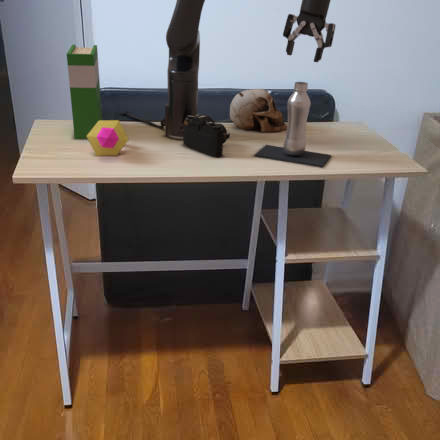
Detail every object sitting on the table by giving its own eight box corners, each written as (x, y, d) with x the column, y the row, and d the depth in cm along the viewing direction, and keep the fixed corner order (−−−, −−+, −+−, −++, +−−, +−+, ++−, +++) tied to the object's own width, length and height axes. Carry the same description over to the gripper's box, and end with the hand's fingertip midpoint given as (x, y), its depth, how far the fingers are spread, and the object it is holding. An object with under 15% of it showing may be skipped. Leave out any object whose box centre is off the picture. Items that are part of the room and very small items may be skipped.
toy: (131, 147, 167) (114, 114, 164) (133, 147, 150) (115, 110, 147) (100, 162, 167) (83, 129, 163) (100, 164, 150) (81, 127, 146)
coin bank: (291, 127, 189) (292, 87, 182) (257, 142, 180) (256, 99, 172) (258, 119, 199) (257, 80, 191) (223, 132, 190) (221, 92, 182)
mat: (254, 156, 162) (254, 154, 162) (266, 146, 171) (266, 144, 171) (322, 167, 156) (322, 165, 156) (330, 156, 165) (330, 154, 165)
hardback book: (79, 123, 184) (72, 44, 171) (102, 123, 185) (96, 45, 172) (74, 139, 169) (66, 53, 156) (99, 139, 170) (93, 54, 157)
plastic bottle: (309, 155, 164) (318, 83, 153) (294, 159, 159) (302, 86, 149) (292, 149, 167) (300, 79, 157) (277, 153, 163) (284, 82, 153)
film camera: (243, 148, 168) (245, 115, 163) (223, 159, 158) (225, 124, 153) (192, 138, 175) (193, 105, 170) (170, 147, 165) (170, 113, 160)
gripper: (288, -11, 151) (275, 52, 159) (336, -1, 146) (320, 64, 154) (299, -9, 157) (285, 53, 165) (346, 1, 152) (329, 64, 160)
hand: (302, 58), depth 160 cm, fingers open, 8 cm apart
